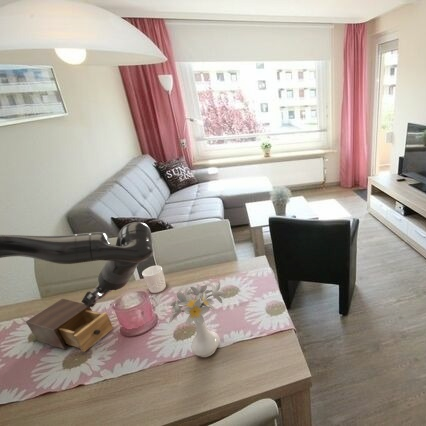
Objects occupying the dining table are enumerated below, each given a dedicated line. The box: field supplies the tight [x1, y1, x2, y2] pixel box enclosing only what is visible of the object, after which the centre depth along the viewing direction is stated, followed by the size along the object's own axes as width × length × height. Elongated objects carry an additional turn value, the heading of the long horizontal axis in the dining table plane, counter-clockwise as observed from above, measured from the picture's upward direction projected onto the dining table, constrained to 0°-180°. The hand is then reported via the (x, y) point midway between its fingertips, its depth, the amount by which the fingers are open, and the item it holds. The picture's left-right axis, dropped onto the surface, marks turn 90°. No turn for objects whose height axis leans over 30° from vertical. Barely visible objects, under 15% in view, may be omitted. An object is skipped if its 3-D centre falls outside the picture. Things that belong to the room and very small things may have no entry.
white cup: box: [141, 265, 167, 294], centre depth 132 cm, size 8×8×10 cm
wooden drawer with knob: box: [57, 310, 114, 353], centre depth 107 cm, size 15×11×8 cm
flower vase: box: [168, 281, 226, 358], centre depth 98 cm, size 13×18×25 cm
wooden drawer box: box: [25, 298, 93, 350], centre depth 110 cm, size 15×13×10 cm
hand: (102, 296), depth 93 cm, fingers open, 7 cm apart
